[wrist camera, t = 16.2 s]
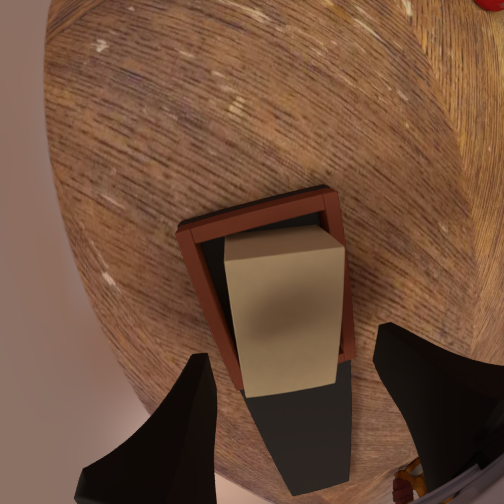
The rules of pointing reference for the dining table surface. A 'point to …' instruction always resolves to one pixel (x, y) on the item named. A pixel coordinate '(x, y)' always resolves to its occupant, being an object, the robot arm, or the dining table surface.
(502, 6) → the beverage can
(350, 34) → the dining table surface
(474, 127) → the dining table surface
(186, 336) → the dining table surface
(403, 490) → the mug
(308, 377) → the foam pad
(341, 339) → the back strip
